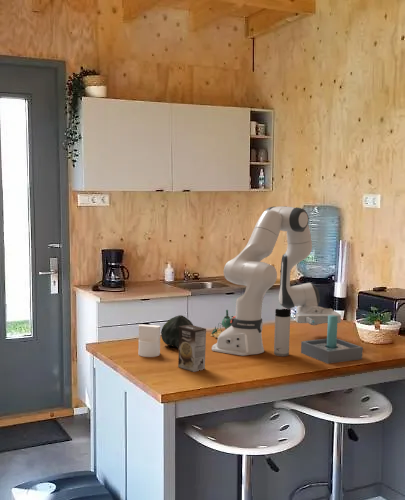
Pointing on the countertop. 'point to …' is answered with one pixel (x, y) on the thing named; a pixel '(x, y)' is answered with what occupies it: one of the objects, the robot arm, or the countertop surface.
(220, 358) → the countertop surface
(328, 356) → the box
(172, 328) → the squash
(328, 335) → the peg
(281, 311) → the travel mug
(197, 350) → the coffee box
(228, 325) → the frog figurine
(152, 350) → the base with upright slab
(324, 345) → the plate
